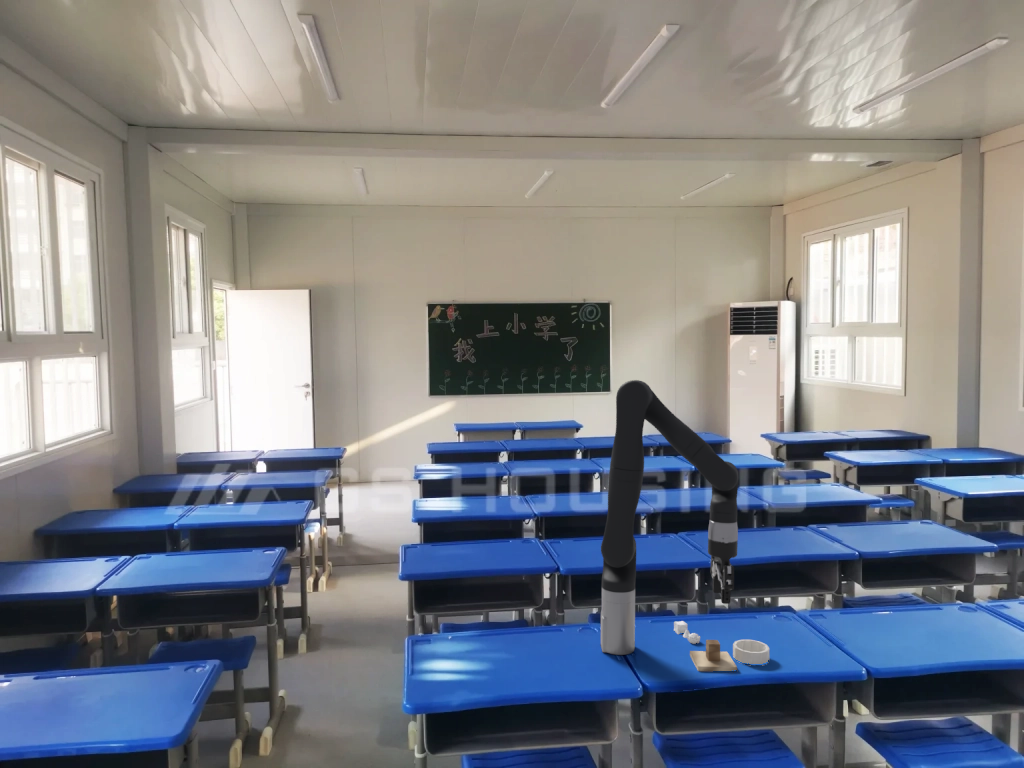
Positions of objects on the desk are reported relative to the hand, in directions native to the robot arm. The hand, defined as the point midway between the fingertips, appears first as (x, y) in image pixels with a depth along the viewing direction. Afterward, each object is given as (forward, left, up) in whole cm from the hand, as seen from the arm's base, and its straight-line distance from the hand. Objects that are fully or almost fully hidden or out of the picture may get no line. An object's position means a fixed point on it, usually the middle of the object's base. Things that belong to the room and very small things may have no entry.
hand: (721, 597), depth 190 cm
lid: (-2, -2, -17) cm, 17 cm away
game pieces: (-5, +17, -18) cm, 25 cm away
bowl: (+9, +2, -18) cm, 20 cm away
